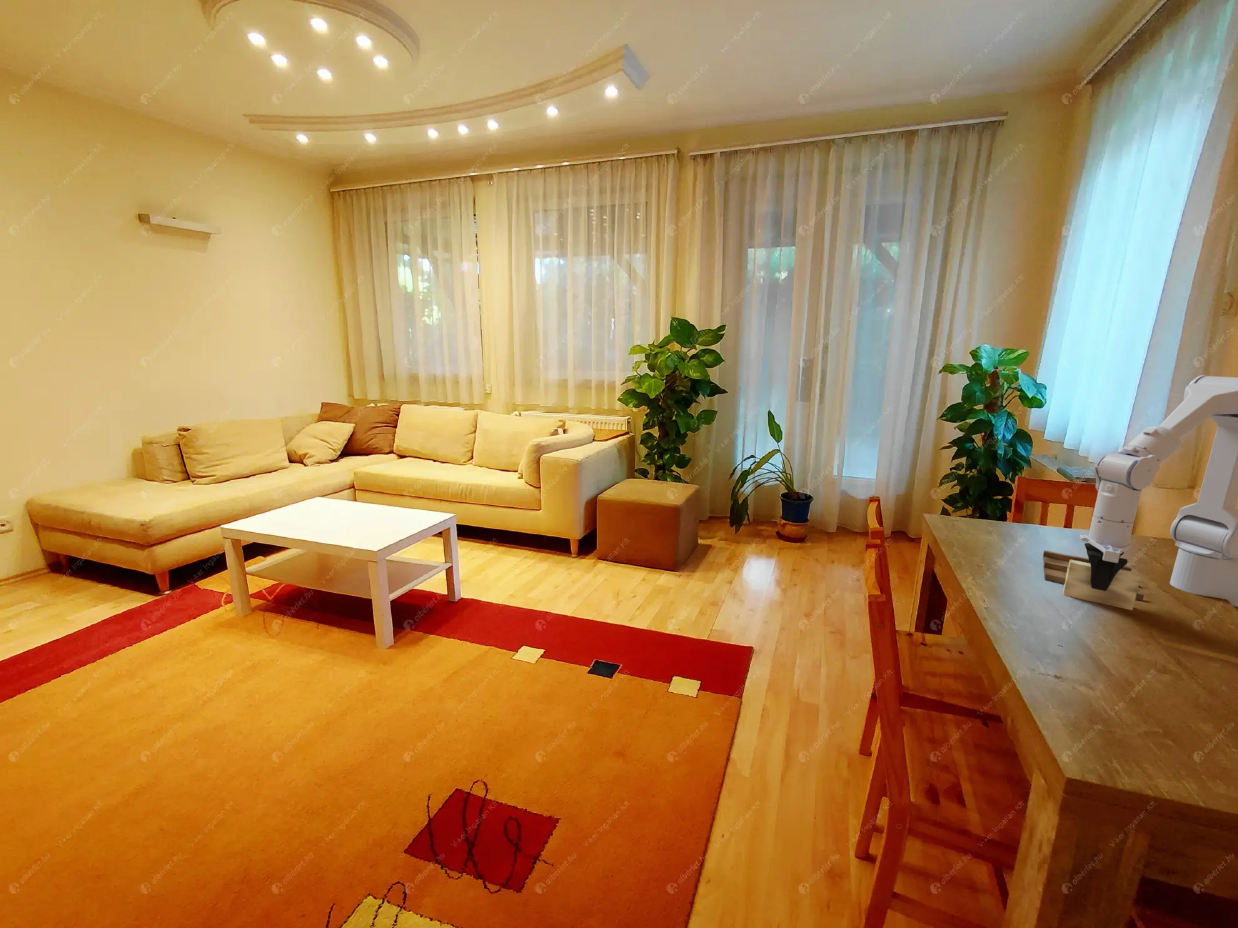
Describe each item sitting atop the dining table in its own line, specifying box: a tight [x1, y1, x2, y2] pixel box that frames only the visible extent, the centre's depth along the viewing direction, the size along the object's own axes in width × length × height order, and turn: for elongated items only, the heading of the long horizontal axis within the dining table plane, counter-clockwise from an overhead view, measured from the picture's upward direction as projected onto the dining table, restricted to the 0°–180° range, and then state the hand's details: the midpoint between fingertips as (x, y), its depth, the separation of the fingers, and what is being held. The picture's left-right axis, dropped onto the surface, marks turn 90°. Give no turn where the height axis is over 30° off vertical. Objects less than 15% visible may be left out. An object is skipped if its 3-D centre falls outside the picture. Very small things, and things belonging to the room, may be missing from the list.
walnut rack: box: [1042, 550, 1145, 602], centre depth 115 cm, size 15×17×2 cm
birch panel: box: [1062, 560, 1142, 611], centre depth 103 cm, size 10×2×7 cm, turn 53°
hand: (1097, 585), depth 103 cm, fingers open, 3 cm apart
